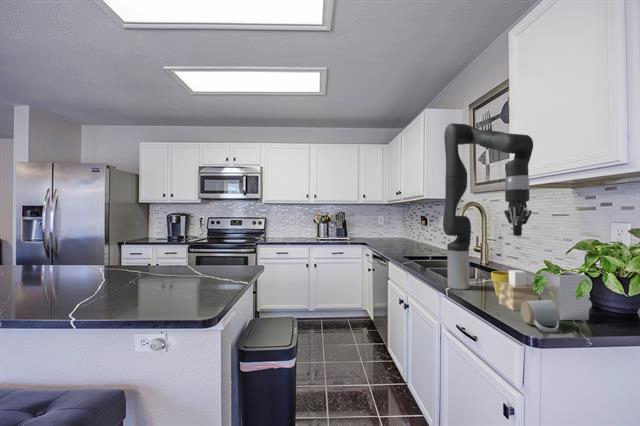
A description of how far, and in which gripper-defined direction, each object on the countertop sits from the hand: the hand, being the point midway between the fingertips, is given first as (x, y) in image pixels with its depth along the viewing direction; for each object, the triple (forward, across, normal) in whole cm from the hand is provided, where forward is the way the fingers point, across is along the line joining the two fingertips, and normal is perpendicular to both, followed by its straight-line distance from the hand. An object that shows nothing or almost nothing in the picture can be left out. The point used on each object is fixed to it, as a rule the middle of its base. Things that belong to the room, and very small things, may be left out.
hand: (517, 235), depth 115 cm
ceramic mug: (+26, +20, -5) cm, 33 cm away
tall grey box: (+26, +10, +9) cm, 29 cm away
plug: (+22, 0, 0) cm, 22 cm away
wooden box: (+26, 0, 0) cm, 26 cm away
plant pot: (+26, -13, +3) cm, 30 cm away
